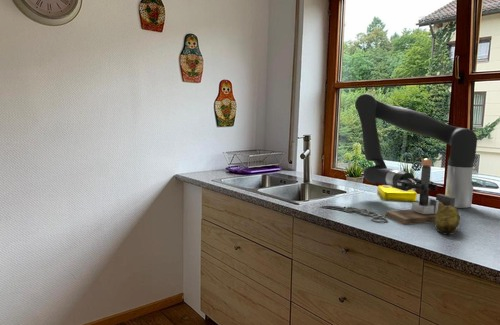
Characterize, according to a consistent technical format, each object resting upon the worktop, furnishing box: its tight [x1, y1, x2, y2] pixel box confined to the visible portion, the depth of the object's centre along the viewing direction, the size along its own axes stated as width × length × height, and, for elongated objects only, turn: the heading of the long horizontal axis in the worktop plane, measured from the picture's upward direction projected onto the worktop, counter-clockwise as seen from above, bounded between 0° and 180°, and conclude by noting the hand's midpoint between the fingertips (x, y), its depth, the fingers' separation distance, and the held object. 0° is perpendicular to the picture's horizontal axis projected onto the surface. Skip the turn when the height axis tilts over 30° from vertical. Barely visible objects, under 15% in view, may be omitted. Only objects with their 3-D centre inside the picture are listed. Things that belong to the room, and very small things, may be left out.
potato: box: [434, 205, 461, 236], centre depth 121 cm, size 8×13×8 cm, turn 135°
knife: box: [321, 205, 389, 224], centre depth 141 cm, size 28×2×10 cm
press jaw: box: [411, 158, 439, 214], centre depth 134 cm, size 6×7×20 cm
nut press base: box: [384, 193, 455, 225], centre depth 135 cm, size 23×11×8 cm, turn 105°
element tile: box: [376, 184, 418, 202], centre depth 170 cm, size 15×15×5 cm
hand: (430, 188), depth 132 cm, fingers open, 4 cm apart
